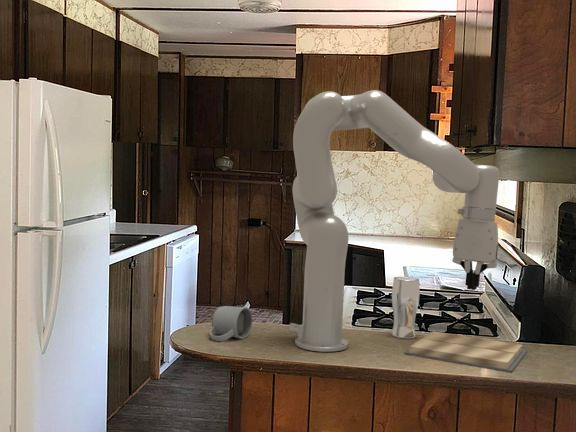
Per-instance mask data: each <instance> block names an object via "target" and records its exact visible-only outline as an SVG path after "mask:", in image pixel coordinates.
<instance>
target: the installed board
mask: <svg viewBox="0 0 576 432" xmlns="http://www.w3.org/2000/svg"><path fill="white" fill-rule="evenodd" d="M408 350H409V353H414V354H420V355H426V356H432V357H438V358H444V359H449V360H455V361H461V362H467V363H473V364H479V365H484V366H490V367H496V368H502V369H508V368H509V367H510V365H511V364H512V363H513V362H514V360H515V353H509V352H503V351H497V350H490V349H484V348H478V347H471V346H465V345H459V344H452V343H446V342H440V341H434V340H427V339H422V338H420V339H418V340H417V341H415V342H414V343H412V344H411V345H410V346H409V349H408Z"/></svg>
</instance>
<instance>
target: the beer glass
mask: <svg viewBox="0 0 576 432" xmlns="http://www.w3.org/2000/svg"><path fill="white" fill-rule="evenodd" d="M392 282H393V283H392V291H391V304H392V305H391V306H392V312H393V327H392V331H391V336H392V337H394V338H398V339H405V340H406V339H407V340H410V339H415V338H416V329H415V328H416V326H415V323H416V316H417V312H418V307H419V302H420V278H417V277H411V276H395V277H393V281H392Z"/></svg>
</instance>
